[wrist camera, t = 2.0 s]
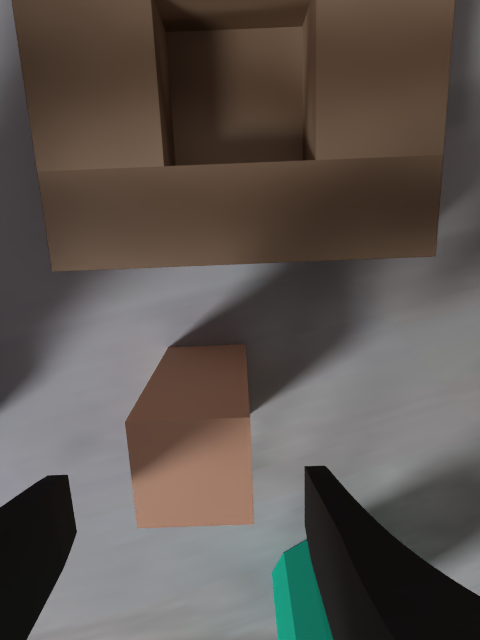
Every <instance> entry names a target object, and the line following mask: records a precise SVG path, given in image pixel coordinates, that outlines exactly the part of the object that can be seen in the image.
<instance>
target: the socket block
mask: <svg viewBox="0 0 480 640" xmlns="http://www.w3.org/2000/svg"><path fill="white" fill-rule="evenodd" d="M12 6H13V13H14V20H15V26H16V33H17V40H18V47H19V53H20V60H21V67H22V73H23V80H24V87H25V94H26V100H27V107H28V114H29V120H30V127H31V134H32V140H33V147H34V154H35V161H36V167H37V174H38V181H39V187H40V194H41V201H42V207H43V214H44V221H45V228H46V234H47V241H48V248H49V254H50V261H51V268H52V272H54V271H79V270H104V269H130V268H155V267H180V266H205V265H230V264H256V263H281V262H306V261H331V260H357V259H382V258H407V257H432V256H436V246H437V233H438V220H439V206H440V193H441V180H442V166H443V153H444V140H445V126H446V113H447V100H448V86H449V73H450V60H451V46H452V33H453V20H454V6H455V0H12Z"/></svg>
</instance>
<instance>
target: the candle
mask: <svg viewBox="0 0 480 640" xmlns="http://www.w3.org/2000/svg"><path fill="white" fill-rule="evenodd" d="M272 578H273V592H274V603H275V613H276V624H277V634H278V640H333V637H332V634H331V630H330V627H329V623H328V619H327V616H326V612H325V609H324V605H323V602H322V598H321V595H320V591H319V588H318V584H317V580H316V577H315V573H314V570H313V566H312V562H311V558H310V553H309V547H308V541H307V540H305V541H304V542H302V543H300V544H298V545H297V546H295V547H293V548H291V549H290V550H288V551H286V552H284V553H283V555H282V557H281V558H280V560H279V562H278V563H277V565H276V567H275V568H274V570H273V572H272Z"/></svg>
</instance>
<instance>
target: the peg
mask: <svg viewBox="0 0 480 640" xmlns="http://www.w3.org/2000/svg"><path fill="white" fill-rule="evenodd" d="M125 426H126V434H127V443H128V451H129V460H130V468H131V477H132V485H133V494H134V503H135V511H136V520H137V528H159V527H187V526H215V525H242V524H254V512H253V485H252V457H251V430H250V408H249V392H248V375H247V358H246V344H239V345H213V346H187V347H168V349H167V351H166V352H165V354H164V356H163V357H162V359H161V361H160V363H159V364H158V366H157V368H156V370H155V371H154V373H153V375H152V376H151V378H150V380H149V382H148V383H147V385H146V387H145V389H144V390H143V392H142V394H141V395H140V397H139V399H138V401H137V402H136V404H135V406H134V408H133V409H132V411H131V413H130V414H129V416H128V418H127V420H126V421H125Z"/></svg>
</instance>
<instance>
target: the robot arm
mask: <svg viewBox="0 0 480 640" xmlns="http://www.w3.org/2000/svg"><path fill="white" fill-rule="evenodd" d="M305 529H306V535H307V541H308V547H309V553H310V558H311V562H312V566H313V570H314V573H315V577H316V580H317V584H318V588H319V591H320V595H321V598H322V602H323V605H324V609H325V612H326V616H327V619H328V623H329V627H330V630H331V634H332V637H333V640H480V596H478V595H477V594H475V593H473V592H472V591H470V590H468V589H467V588H465V587H463V586H462V585H460V584H459V583H457V582H455V581H454V580H452V579H451V578H449V577H448V576H446V575H445V574H443V573H442V572H440V571H439V570H437V569H436V568H434V567H433V566H431V565H430V564H429V563H427V562H426V561H424V560H423V559H422V558H420V557H419V556H418V555H416V554H415V553H414V552H412V551H411V550H410V549H409V548H407V547H406V546H405V545H403V544H402V543H401V542H400V541H398V540H397V539H396V538H395V537H394V536H392V535H391V534H390V533H389V532H388V531H387V530H386V529H385V528H384V527H382V526H381V525H380V524H379V523H378V522H377V521H376V520H375V519H374V518H373V517H372V516H371V515H370V514H369V513H368V512H367V511H366V510H365V509H364V508H363V507H362V506H361V505H360V504H359V503H358V502H357V501H356V500H355V499H354V498H353V497H352V496H351V494H350V493H349V492H348V491H347V490H346V489H345V488H344V487H343V486H342V484H341V483H340V482H339V481H338V480H337V479H336V477H335V476H334V475H333V474H332V473H331V472H330V470H329V469H328V468H327V467H326V466H305ZM76 533H77V530H76V524H75V518H74V511H73V505H72V499H71V492H70V486H69V480H68V475H50V476H46V477H45V478H43V479H41V480H40V481H38V482H37V483H35V484H34V485H32V486H31V487H29V488H28V489H26V490H25V491H23V492H22V493H20V494H19V495H18V496H16V497H15V498H13V499H12V500H10V501H9V502H8V503H6V504H5V505H3V506H2V507H0V640H27V638H28V636H29V634H30V632H31V630H32V628H33V626H34V624H35V622H36V621H37V619H38V617H39V615H40V613H41V611H42V609H43V607H44V605H45V603H46V601H47V599H48V598H49V596H50V594H51V592H52V590H53V588H54V586H55V584H56V582H57V580H58V578H59V576H60V574H61V572H62V570H63V568H64V566H65V563H66V560H67V558H68V555H69V553H70V550H71V547H72V544H73V542H74V539H75V536H76Z"/></svg>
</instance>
